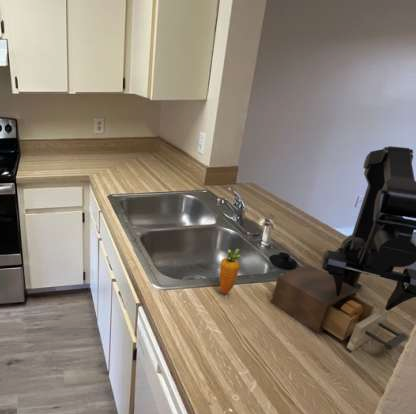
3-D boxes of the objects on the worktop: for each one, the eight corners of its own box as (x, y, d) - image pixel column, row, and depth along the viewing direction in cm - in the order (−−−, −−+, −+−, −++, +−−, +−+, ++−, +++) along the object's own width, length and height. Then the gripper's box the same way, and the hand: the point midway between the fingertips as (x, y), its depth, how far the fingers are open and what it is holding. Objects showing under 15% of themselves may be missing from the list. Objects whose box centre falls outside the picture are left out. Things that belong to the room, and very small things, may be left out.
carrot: (229, 288, 97) (238, 244, 91) (236, 299, 93) (246, 253, 87) (212, 288, 97) (220, 244, 91) (219, 300, 93) (227, 254, 86)
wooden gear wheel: (349, 328, 81) (340, 322, 83) (365, 310, 81) (355, 305, 83) (344, 320, 78) (334, 314, 80) (360, 302, 78) (350, 296, 80)
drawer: (405, 348, 75) (417, 325, 73) (378, 368, 71) (390, 344, 68) (330, 304, 89) (337, 283, 86) (302, 318, 84) (309, 297, 82)
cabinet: (347, 316, 86) (358, 289, 83) (317, 333, 81) (327, 305, 77) (300, 289, 97) (308, 263, 93) (271, 302, 91) (278, 276, 88)
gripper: (434, 238, 72) (407, 296, 78) (331, 219, 81) (314, 272, 87) (449, 263, 63) (417, 325, 70) (332, 238, 72) (314, 295, 79)
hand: (361, 302), depth 77 cm, fingers open, 9 cm apart
